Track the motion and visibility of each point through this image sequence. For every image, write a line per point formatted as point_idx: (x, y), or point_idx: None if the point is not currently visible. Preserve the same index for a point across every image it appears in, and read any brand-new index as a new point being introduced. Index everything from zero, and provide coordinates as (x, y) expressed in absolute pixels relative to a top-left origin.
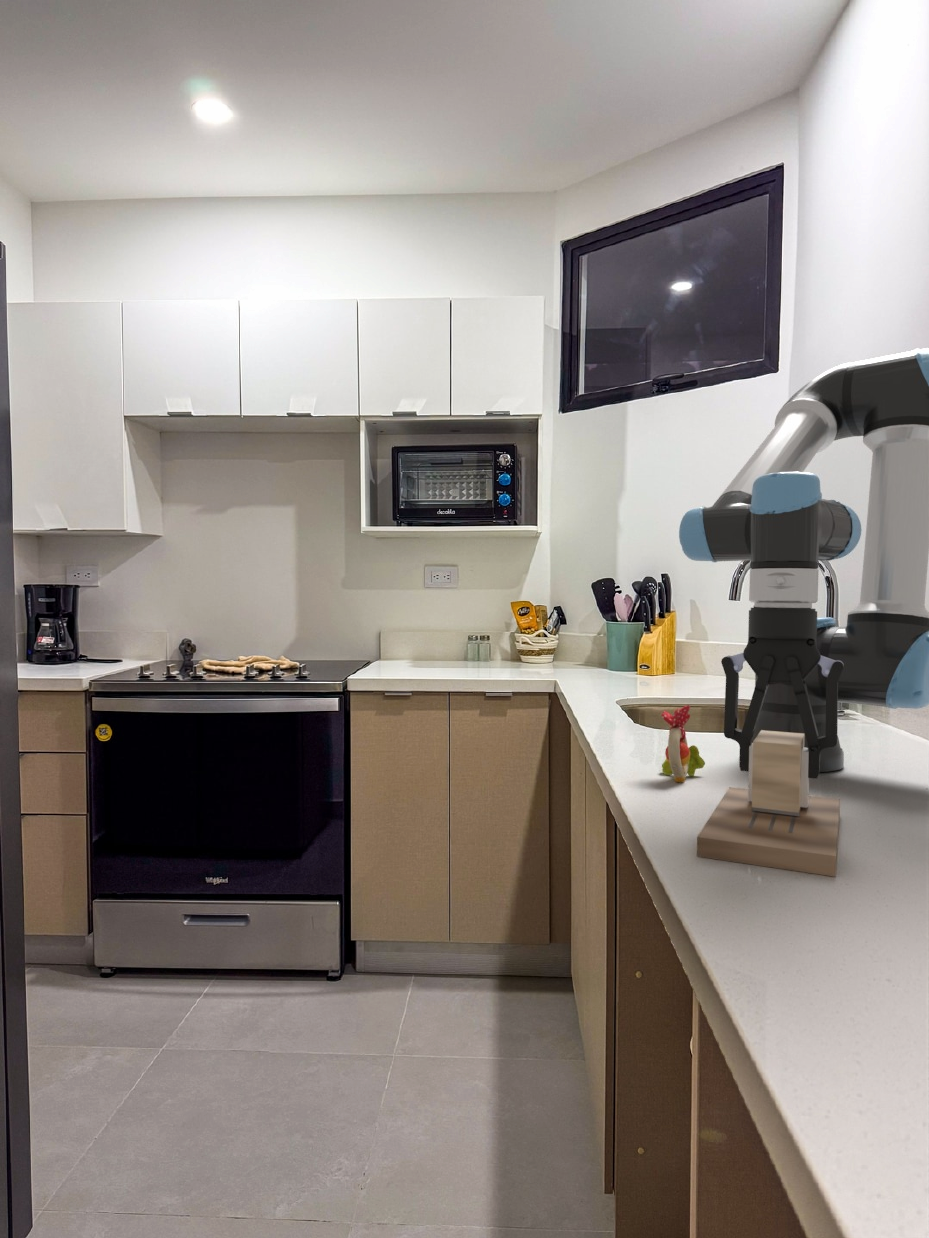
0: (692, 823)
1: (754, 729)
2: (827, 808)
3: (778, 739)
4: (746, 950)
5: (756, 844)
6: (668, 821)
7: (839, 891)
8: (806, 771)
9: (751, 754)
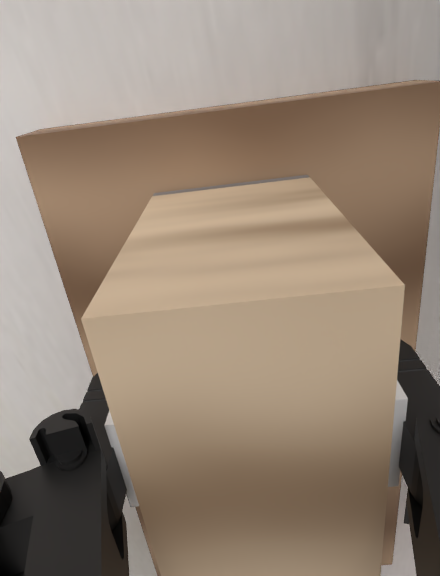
0: (66, 396)
1: (110, 530)
2: (389, 257)
3: (266, 544)
4: None
5: None
6: (16, 408)
7: (382, 567)
8: None
9: None
